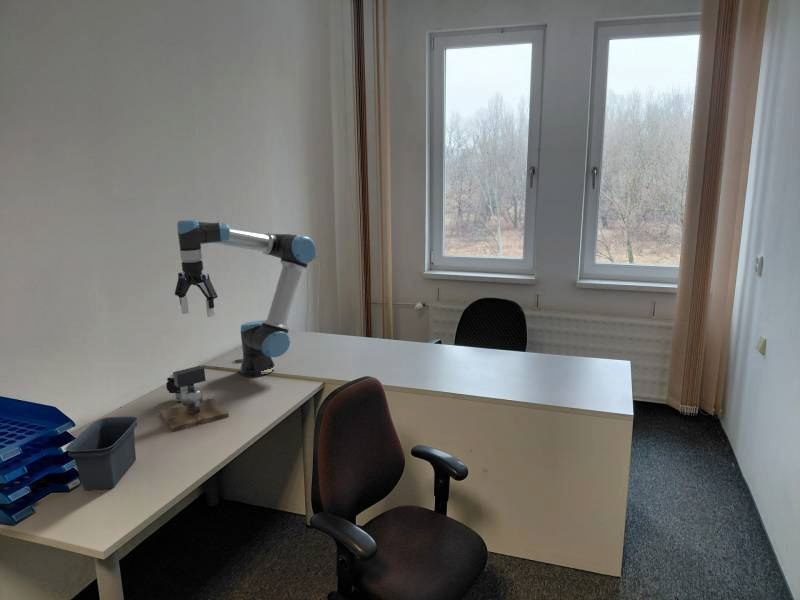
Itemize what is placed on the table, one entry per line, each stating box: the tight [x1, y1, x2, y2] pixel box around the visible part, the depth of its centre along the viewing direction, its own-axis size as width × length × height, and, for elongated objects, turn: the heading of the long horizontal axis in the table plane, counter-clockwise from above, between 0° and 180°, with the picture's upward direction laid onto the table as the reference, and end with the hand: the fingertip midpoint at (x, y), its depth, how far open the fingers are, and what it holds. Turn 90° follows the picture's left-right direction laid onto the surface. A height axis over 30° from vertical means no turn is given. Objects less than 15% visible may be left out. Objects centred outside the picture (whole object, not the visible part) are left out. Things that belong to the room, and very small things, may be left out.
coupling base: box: [159, 397, 229, 432], centre depth 207 cm, size 20×18×5 cm
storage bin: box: [65, 415, 139, 491], centre depth 166 cm, size 21×16×14 cm
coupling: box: [172, 365, 206, 406], centre depth 205 cm, size 10×10×13 cm
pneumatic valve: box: [165, 373, 187, 402], centre depth 222 cm, size 6×12×12 cm, turn 169°
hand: (198, 314), depth 216 cm, fingers open, 13 cm apart
